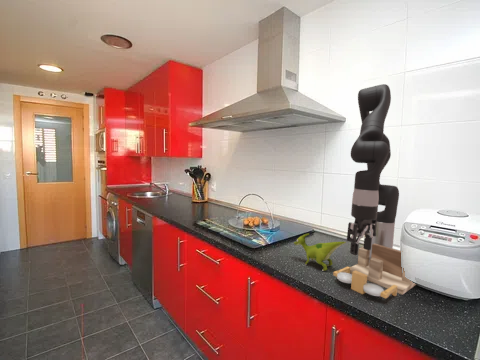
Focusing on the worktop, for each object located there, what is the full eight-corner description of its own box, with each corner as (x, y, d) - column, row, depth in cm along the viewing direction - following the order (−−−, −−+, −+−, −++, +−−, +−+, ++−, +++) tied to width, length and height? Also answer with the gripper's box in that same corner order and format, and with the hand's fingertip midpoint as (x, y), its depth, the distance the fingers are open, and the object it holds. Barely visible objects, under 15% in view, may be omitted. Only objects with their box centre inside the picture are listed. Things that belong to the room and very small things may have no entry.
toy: (310, 269, 106) (296, 236, 110) (358, 258, 94) (340, 221, 97) (302, 276, 100) (287, 240, 104) (352, 264, 87) (333, 225, 91)
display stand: (363, 264, 102) (365, 240, 101) (416, 284, 87) (419, 255, 86) (347, 272, 95) (349, 245, 94) (402, 294, 80) (405, 263, 79)
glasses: (346, 274, 93) (347, 258, 92) (397, 295, 79) (399, 278, 78) (330, 281, 87) (331, 265, 86) (382, 306, 72) (384, 287, 72)
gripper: (364, 200, 86) (360, 244, 87) (341, 202, 78) (338, 252, 79) (387, 203, 80) (382, 251, 81) (365, 207, 72) (360, 260, 73)
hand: (360, 251), depth 80 cm, fingers open, 8 cm apart
